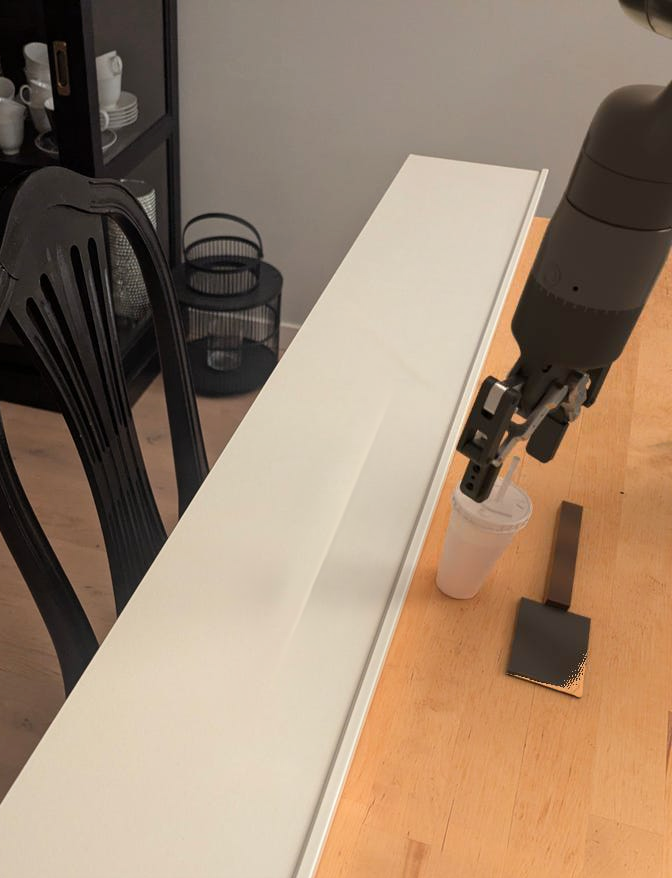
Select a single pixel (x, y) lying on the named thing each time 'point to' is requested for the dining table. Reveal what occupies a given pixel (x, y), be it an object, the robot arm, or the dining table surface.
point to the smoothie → (480, 534)
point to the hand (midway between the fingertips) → (506, 475)
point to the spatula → (553, 614)
